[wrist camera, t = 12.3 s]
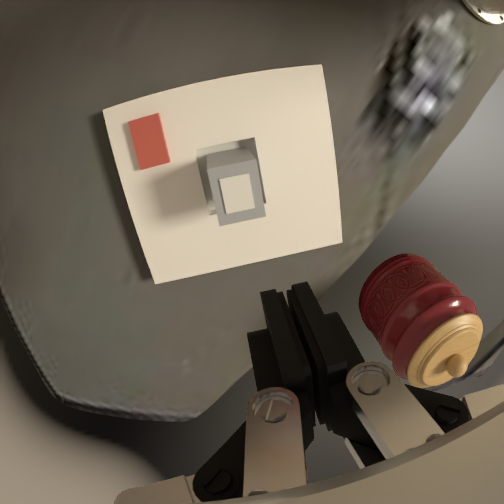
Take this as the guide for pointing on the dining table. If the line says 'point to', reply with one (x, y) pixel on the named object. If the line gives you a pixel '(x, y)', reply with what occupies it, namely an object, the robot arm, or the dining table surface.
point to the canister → (420, 320)
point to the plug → (235, 185)
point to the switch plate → (220, 139)
